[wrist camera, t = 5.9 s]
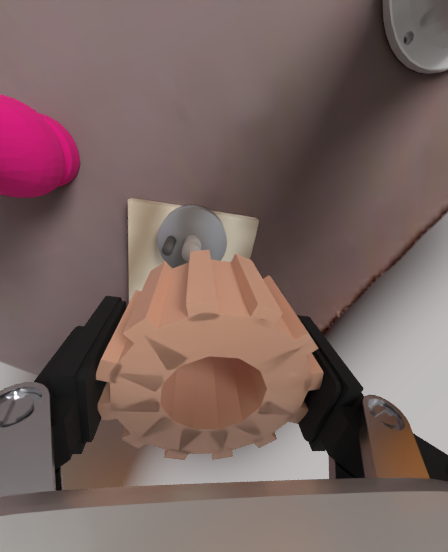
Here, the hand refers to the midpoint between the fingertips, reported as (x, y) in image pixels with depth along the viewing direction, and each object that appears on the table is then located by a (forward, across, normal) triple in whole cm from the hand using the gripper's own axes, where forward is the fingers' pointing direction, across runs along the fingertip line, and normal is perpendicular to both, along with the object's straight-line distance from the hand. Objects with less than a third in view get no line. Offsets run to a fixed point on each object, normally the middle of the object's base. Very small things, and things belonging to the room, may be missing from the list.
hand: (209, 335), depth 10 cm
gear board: (+19, +1, +8) cm, 21 cm away
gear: (+1, 0, 0) cm, 1 cm away
